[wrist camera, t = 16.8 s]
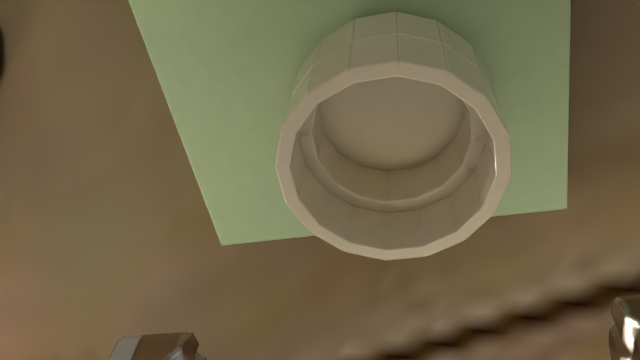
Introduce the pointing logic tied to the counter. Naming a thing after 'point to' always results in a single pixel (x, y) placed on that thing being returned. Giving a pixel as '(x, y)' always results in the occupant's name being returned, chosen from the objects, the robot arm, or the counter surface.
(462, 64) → the bowl
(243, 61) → the scale
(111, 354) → the robot arm
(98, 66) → the counter surface
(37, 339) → the counter surface
